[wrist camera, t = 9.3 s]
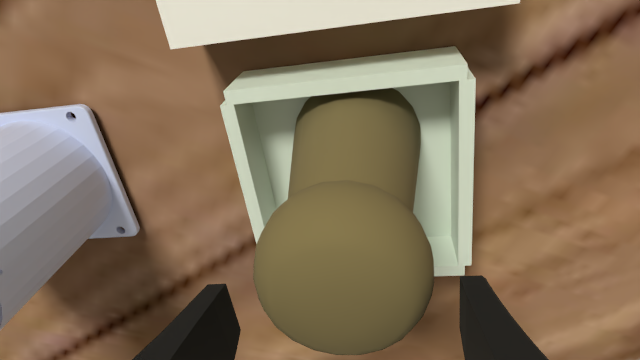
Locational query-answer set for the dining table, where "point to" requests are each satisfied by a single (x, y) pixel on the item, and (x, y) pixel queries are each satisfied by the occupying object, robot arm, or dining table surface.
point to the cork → (348, 228)
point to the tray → (351, 76)
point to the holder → (289, 16)
